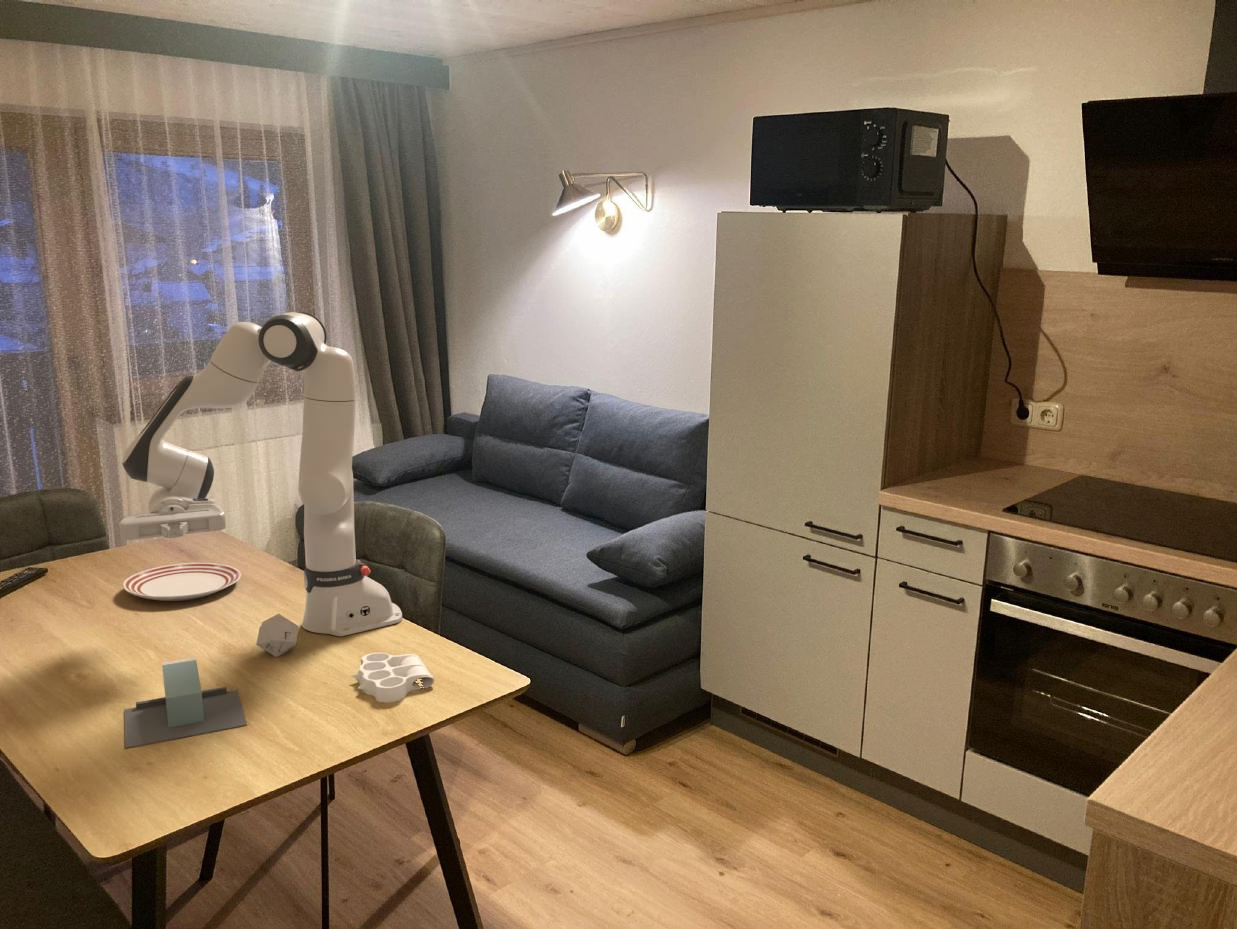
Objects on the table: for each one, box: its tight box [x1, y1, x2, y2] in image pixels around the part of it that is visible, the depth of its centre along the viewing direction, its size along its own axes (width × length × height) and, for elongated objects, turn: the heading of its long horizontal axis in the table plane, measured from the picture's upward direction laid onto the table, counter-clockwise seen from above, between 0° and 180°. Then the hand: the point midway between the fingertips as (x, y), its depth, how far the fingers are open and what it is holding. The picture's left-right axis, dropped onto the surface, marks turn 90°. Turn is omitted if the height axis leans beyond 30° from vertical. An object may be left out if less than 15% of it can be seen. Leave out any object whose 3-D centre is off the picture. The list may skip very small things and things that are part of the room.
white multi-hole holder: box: [351, 652, 435, 704], centre depth 199 cm, size 3×18×15 cm
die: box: [255, 613, 299, 658], centre depth 212 cm, size 8×9×10 cm
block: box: [161, 656, 204, 728], centre depth 185 cm, size 6×6×14 cm
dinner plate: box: [122, 562, 242, 602], centre depth 250 cm, size 27×27×3 cm
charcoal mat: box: [124, 686, 248, 750], centre depth 183 cm, size 20×16×1 cm
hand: (175, 533), depth 202 cm, fingers closed
